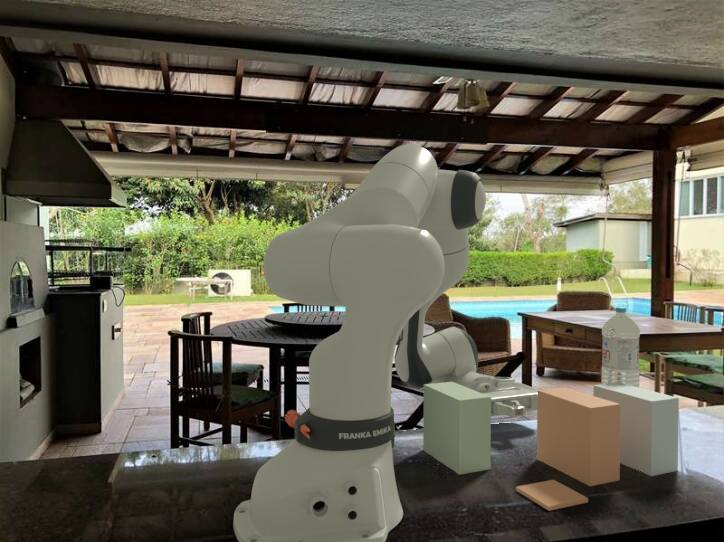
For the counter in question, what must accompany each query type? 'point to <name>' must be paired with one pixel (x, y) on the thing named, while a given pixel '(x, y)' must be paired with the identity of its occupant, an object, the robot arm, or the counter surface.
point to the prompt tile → (551, 495)
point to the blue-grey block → (645, 427)
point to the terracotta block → (579, 435)
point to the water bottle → (620, 350)
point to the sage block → (457, 427)
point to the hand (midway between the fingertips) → (519, 412)
